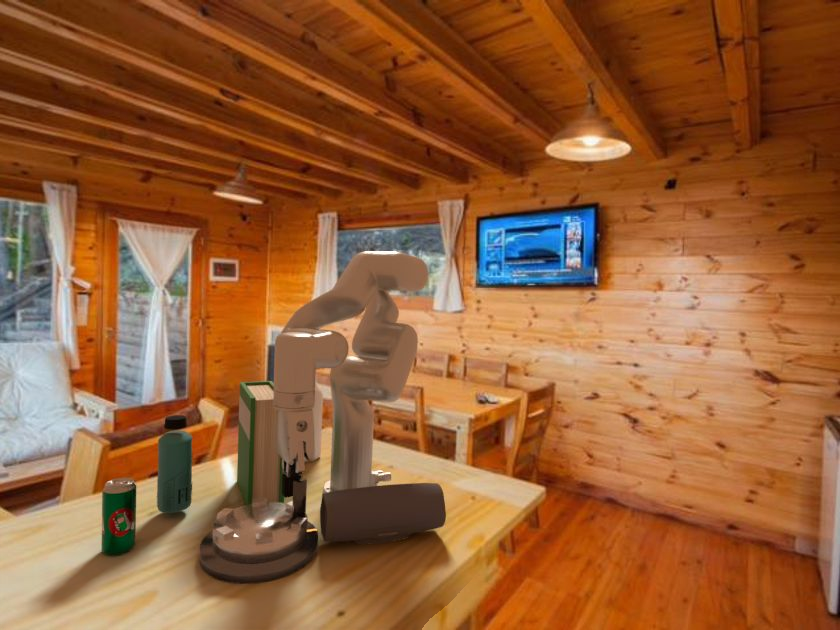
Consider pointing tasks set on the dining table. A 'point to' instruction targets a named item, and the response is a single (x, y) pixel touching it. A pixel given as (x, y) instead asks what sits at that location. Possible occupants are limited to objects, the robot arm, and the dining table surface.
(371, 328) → the robot arm
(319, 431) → the white bottle
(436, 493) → the bluetooth speaker
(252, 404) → the hardback book
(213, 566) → the dark brown round plate
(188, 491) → the beverage bottle
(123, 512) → the soda can
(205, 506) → the dining table surface
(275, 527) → the brown round knobbed piece
